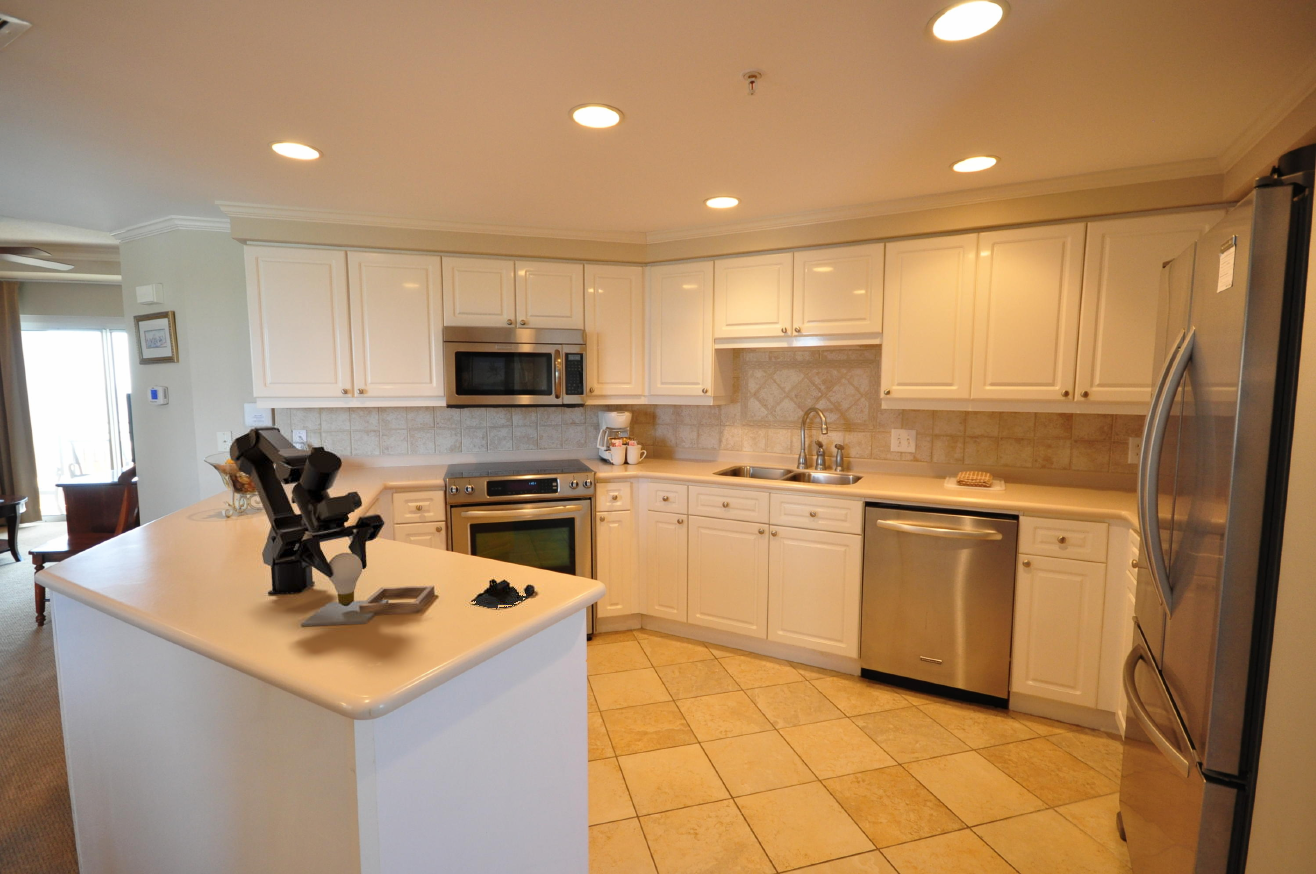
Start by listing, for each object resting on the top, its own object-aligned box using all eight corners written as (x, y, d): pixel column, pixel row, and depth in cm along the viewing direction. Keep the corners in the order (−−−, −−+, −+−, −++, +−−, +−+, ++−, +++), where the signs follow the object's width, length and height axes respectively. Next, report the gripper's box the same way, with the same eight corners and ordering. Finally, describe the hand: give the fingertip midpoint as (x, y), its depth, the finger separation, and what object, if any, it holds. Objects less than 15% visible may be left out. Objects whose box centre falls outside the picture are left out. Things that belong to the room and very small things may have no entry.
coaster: (301, 626, 105) (301, 623, 105) (330, 604, 116) (330, 601, 116) (365, 623, 106) (365, 620, 106) (388, 602, 117) (388, 599, 117)
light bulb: (369, 604, 111) (367, 552, 110) (336, 614, 107) (333, 559, 106) (355, 597, 115) (353, 547, 114) (323, 606, 110) (320, 553, 110)
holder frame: (359, 615, 110) (359, 605, 110) (381, 596, 120) (380, 587, 120) (418, 612, 111) (417, 603, 110) (434, 594, 121) (434, 585, 121)
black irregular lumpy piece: (507, 613, 111) (506, 587, 111) (463, 608, 114) (462, 582, 114) (540, 593, 122) (539, 569, 122) (499, 588, 126) (498, 565, 125)
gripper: (274, 486, 104) (307, 558, 98) (377, 473, 119) (411, 535, 113) (258, 525, 109) (288, 595, 103) (358, 508, 124) (390, 569, 119)
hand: (348, 571), depth 110 cm, fingers closed on light bulb, 6 cm apart
